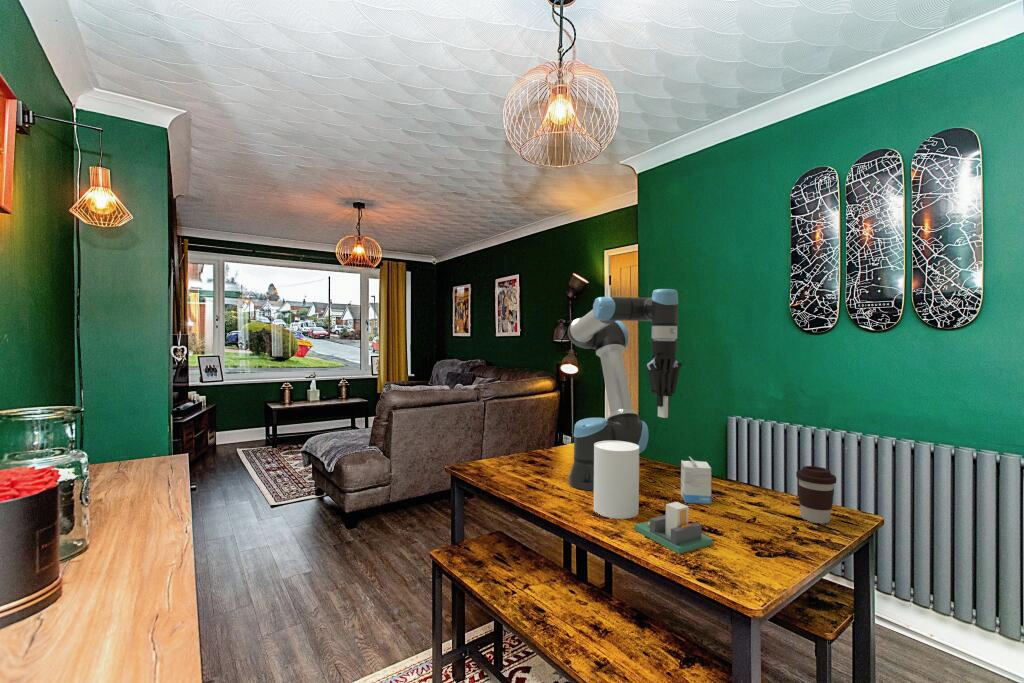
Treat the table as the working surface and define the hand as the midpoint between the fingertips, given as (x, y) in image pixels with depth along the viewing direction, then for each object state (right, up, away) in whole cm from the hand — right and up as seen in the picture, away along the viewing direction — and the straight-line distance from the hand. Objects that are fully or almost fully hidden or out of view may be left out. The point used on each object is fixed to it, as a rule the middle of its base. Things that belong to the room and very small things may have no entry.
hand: (662, 416), depth 146 cm
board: (-3, -29, -18) cm, 35 cm away
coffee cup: (+43, -30, -6) cm, 53 cm away
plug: (-3, -28, -21) cm, 35 cm away
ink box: (+14, -29, +11) cm, 34 cm away
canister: (-14, -29, +1) cm, 32 cm away
